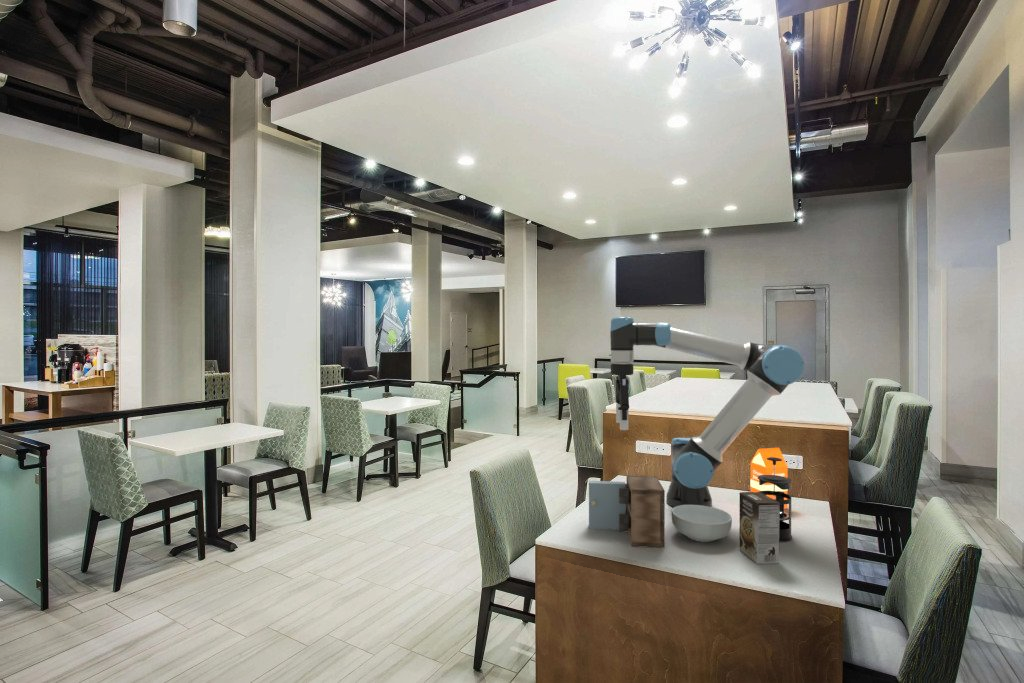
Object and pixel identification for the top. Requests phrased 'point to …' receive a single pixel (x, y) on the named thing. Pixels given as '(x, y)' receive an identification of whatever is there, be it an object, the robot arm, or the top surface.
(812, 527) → the top surface
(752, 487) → the orange juice
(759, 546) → the coffee box
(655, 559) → the top surface
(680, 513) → the cereal bowl
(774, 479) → the french press
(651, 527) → the cabinet
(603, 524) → the door
